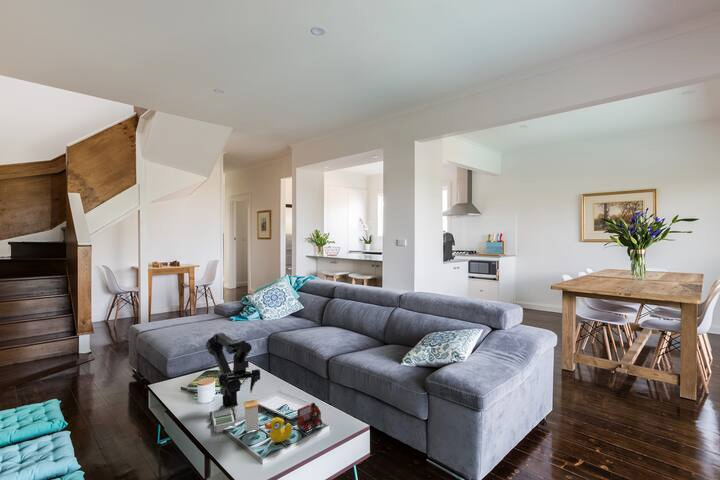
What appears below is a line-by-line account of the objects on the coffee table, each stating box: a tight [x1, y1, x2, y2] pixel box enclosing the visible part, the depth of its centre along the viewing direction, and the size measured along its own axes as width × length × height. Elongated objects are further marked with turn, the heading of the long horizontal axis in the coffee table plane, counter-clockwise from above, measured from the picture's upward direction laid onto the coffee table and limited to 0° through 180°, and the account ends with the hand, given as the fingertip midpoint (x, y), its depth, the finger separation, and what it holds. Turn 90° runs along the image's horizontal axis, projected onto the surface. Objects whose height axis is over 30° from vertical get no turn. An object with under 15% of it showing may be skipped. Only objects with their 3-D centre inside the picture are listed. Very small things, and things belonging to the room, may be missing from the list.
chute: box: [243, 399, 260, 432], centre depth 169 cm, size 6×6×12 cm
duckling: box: [264, 417, 293, 443], centre depth 159 cm, size 11×5×10 cm, turn 115°
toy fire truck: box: [296, 402, 323, 433], centre depth 170 cm, size 7×12×10 cm, turn 135°
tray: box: [252, 389, 317, 420], centre depth 190 cm, size 17×31×4 cm, turn 50°
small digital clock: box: [209, 406, 237, 434], centre depth 176 cm, size 11×17×3 cm, turn 24°
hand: (240, 394), depth 174 cm, fingers open, 9 cm apart
